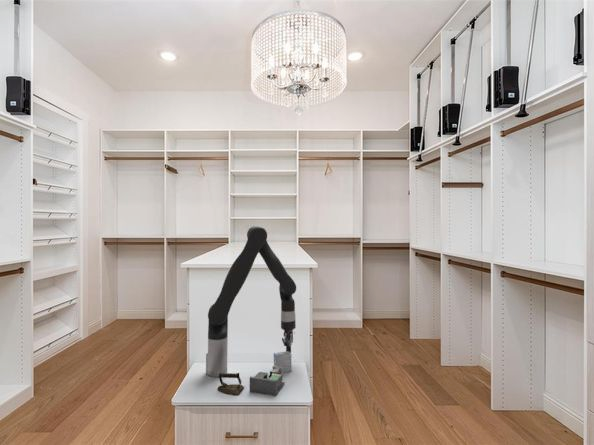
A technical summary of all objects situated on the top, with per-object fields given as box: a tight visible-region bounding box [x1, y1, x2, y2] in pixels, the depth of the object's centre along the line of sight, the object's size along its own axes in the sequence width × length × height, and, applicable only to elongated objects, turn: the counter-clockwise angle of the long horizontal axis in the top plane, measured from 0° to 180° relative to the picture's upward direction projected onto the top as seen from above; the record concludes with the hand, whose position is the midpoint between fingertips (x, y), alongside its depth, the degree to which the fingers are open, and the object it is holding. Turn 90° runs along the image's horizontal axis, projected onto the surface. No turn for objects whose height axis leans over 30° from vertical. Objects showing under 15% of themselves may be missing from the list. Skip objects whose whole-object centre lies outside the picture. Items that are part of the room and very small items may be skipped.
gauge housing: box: [249, 371, 286, 397], centre depth 146 cm, size 12×11×6 cm
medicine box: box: [273, 350, 292, 374], centre depth 164 cm, size 8×4×9 cm, turn 110°
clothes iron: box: [216, 372, 245, 397], centre depth 143 cm, size 7×11×10 cm, turn 81°
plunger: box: [268, 365, 283, 379], centre depth 153 cm, size 7×9×4 cm
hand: (288, 353), depth 171 cm, fingers closed
